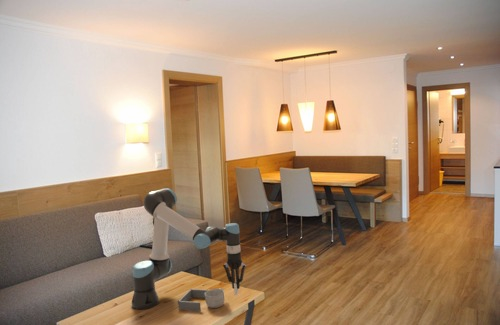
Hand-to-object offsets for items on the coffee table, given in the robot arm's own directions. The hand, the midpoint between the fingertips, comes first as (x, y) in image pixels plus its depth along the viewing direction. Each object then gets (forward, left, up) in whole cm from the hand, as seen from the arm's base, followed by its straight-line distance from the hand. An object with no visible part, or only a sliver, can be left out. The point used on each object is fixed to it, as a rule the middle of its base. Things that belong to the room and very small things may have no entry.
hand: (236, 294), depth 223 cm
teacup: (-12, 0, -7) cm, 14 cm away
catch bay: (-24, 0, -7) cm, 25 cm away
